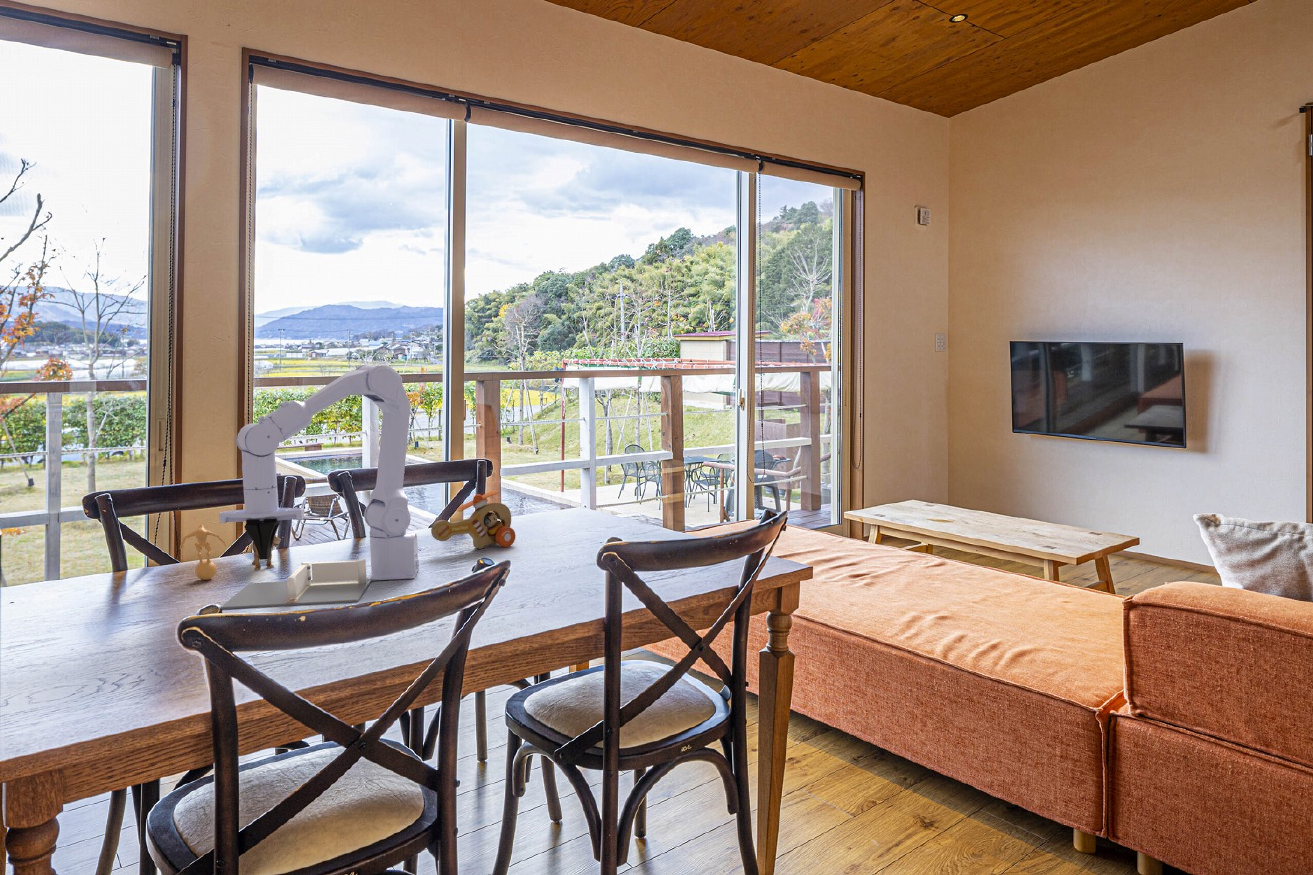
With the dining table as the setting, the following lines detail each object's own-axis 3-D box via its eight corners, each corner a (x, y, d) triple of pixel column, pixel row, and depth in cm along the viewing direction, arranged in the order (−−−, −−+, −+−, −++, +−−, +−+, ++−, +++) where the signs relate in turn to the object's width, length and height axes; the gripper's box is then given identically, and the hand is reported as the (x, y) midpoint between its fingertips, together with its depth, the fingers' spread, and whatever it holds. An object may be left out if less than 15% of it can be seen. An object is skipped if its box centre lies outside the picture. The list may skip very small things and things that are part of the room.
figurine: (230, 575, 173) (226, 519, 172) (226, 582, 168) (222, 524, 166) (185, 579, 170) (181, 522, 169) (179, 586, 165) (175, 528, 163)
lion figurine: (284, 570, 177) (281, 529, 176) (257, 574, 174) (254, 532, 173) (269, 557, 189) (267, 518, 188) (244, 560, 186) (241, 521, 185)
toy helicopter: (520, 545, 199) (518, 489, 197) (442, 560, 184) (440, 500, 183) (501, 539, 205) (499, 485, 203) (425, 554, 190) (422, 495, 189)
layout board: (373, 578, 169) (373, 576, 169) (357, 601, 154) (357, 599, 154) (249, 584, 166) (249, 582, 166) (220, 609, 150) (220, 606, 150)
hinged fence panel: (301, 583, 162) (300, 565, 162) (308, 583, 162) (307, 564, 162) (287, 598, 152) (286, 578, 152) (295, 598, 153) (294, 578, 152)
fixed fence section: (367, 581, 166) (366, 559, 166) (365, 583, 165) (364, 561, 164) (303, 584, 164) (302, 562, 164) (301, 586, 163) (300, 564, 162)
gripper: (211, 492, 149) (216, 565, 150) (295, 489, 151) (299, 561, 152) (224, 486, 155) (229, 556, 157) (305, 483, 158) (309, 552, 159)
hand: (265, 558), depth 155 cm, fingers closed
